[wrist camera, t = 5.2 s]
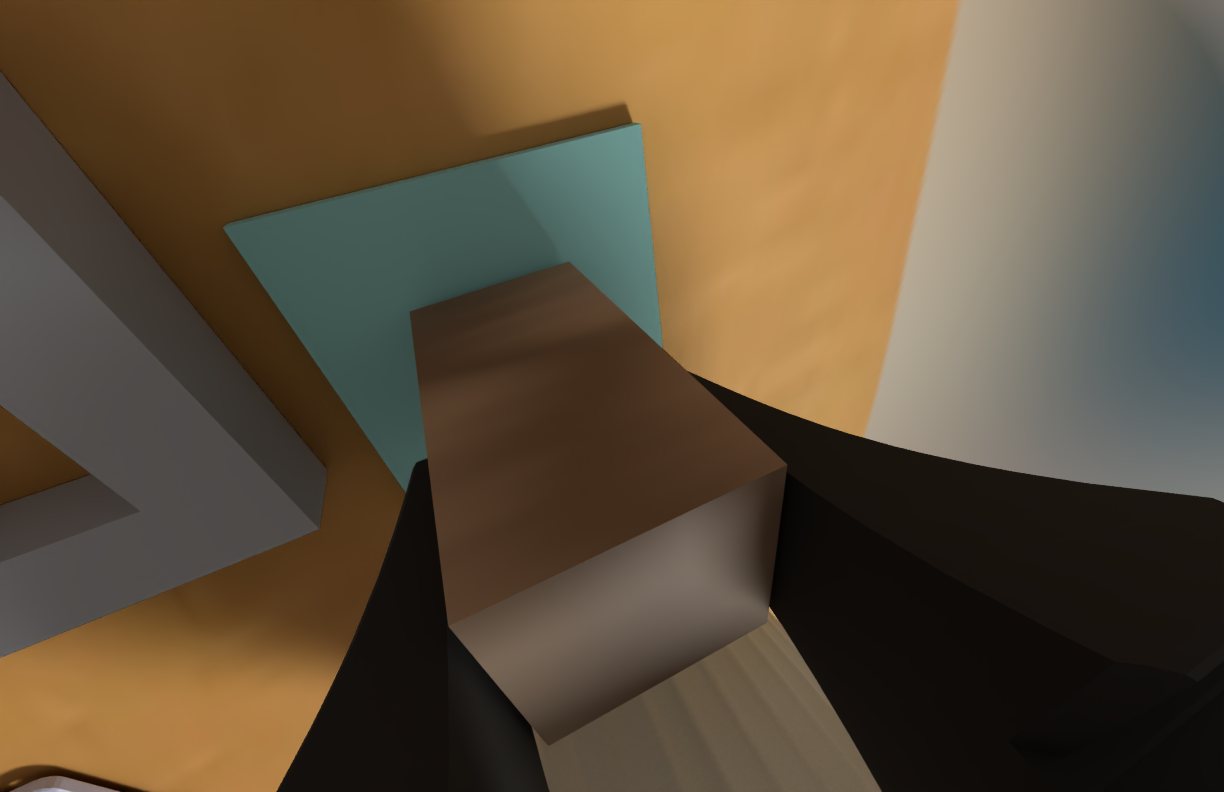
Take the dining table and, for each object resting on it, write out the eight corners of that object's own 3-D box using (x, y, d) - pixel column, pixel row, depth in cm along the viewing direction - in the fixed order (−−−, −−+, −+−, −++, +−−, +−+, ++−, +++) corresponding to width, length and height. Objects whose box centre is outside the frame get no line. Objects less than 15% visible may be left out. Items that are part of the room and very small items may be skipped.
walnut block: (469, 435, 13) (548, 746, 7) (409, 311, 10) (447, 626, 4) (597, 386, 14) (766, 622, 8) (569, 261, 11) (787, 464, 5)
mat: (418, 503, 14) (419, 512, 14) (228, 223, 9) (223, 228, 9) (663, 403, 16) (668, 409, 16) (633, 122, 11) (641, 123, 11)
